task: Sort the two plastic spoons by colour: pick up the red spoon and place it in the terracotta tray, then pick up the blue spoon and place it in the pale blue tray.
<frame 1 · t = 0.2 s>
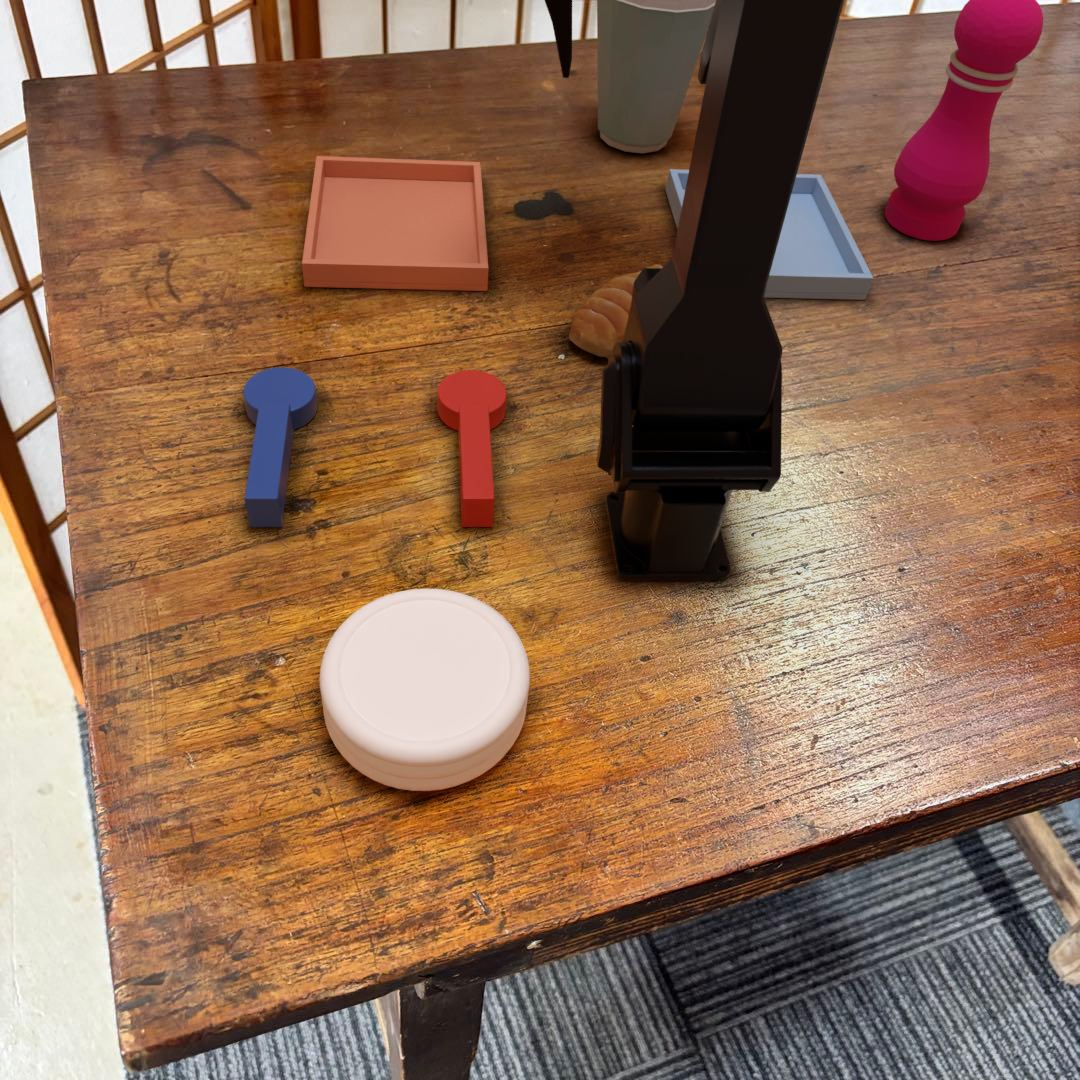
hand: (634, 78, 67), 14 cm above the table, tool pointing down, fingers open, 9 cm apart
pastry: (634, 332, 73), on the table
blue spoon: (272, 477, 60), on the table
blue tray: (760, 242, 82), on the table
red spoon: (474, 478, 62), on the table
pepper mill: (919, 223, 87), on the table
disposable coffee cup: (633, 138, 93), on the table
red tray: (398, 231, 79), on the table
white round tin: (426, 706, 51), on the table
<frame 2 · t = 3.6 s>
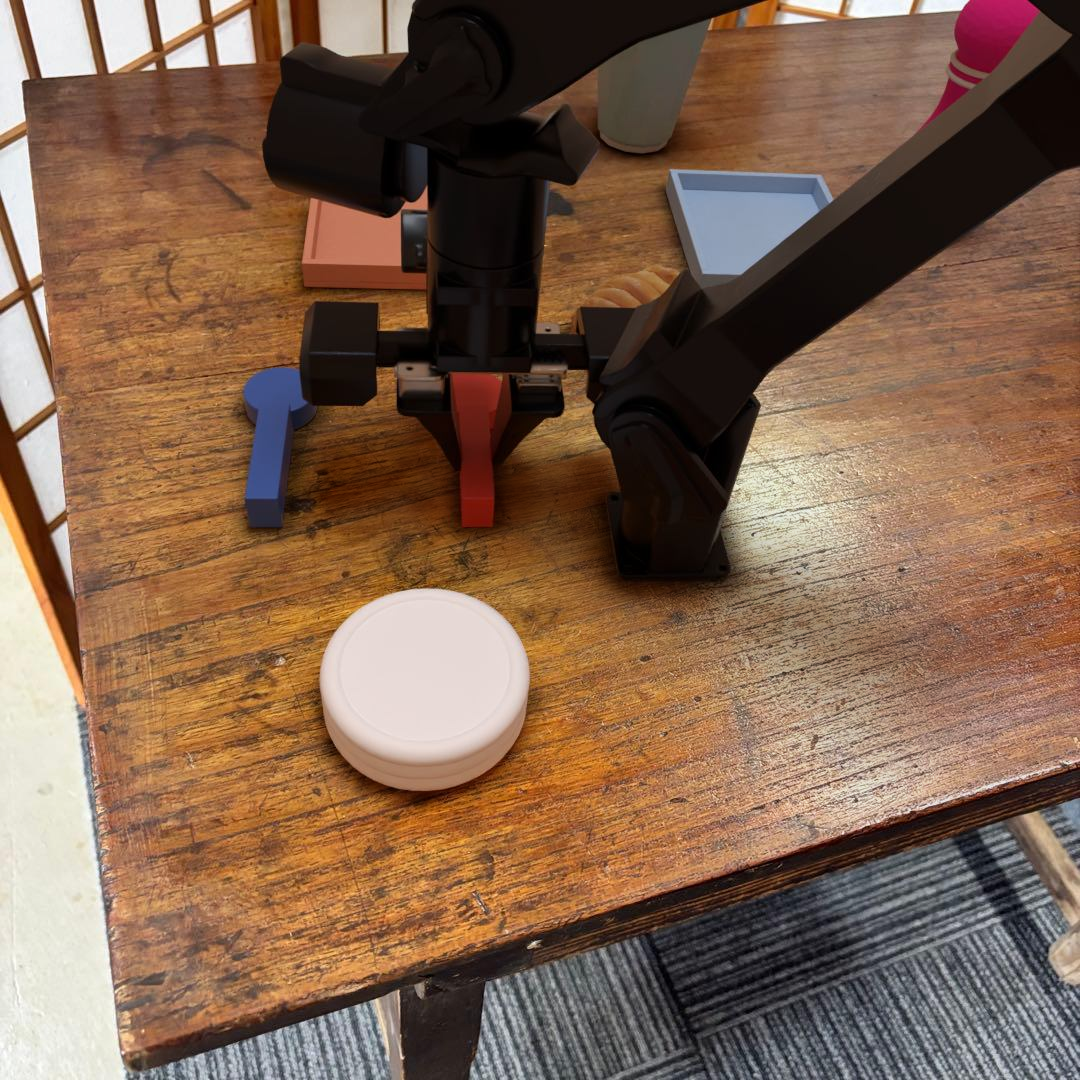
hand: (475, 466, 61), 1 cm above the table, tool pointing down, fingers closed on red spoon, 2 cm apart
red spoon: (474, 478, 62), on the table, touching gripper
everything else where it was.
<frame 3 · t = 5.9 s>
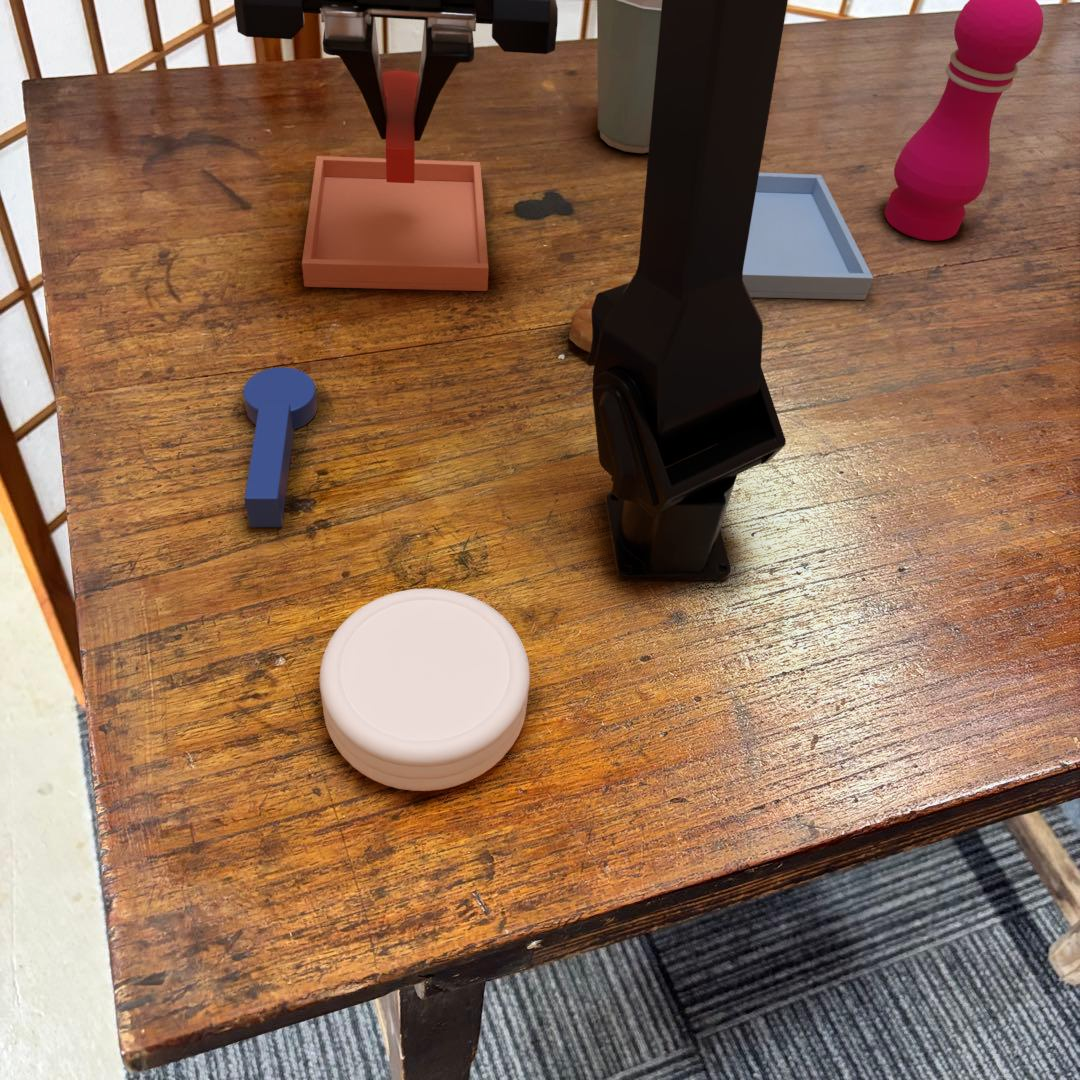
hand: (400, 137, 68), 11 cm above the table, tool pointing down, fingers closed on red spoon
red spoon: (400, 151, 68), point 10 cm above the table, touching gripper
everything else where it was.
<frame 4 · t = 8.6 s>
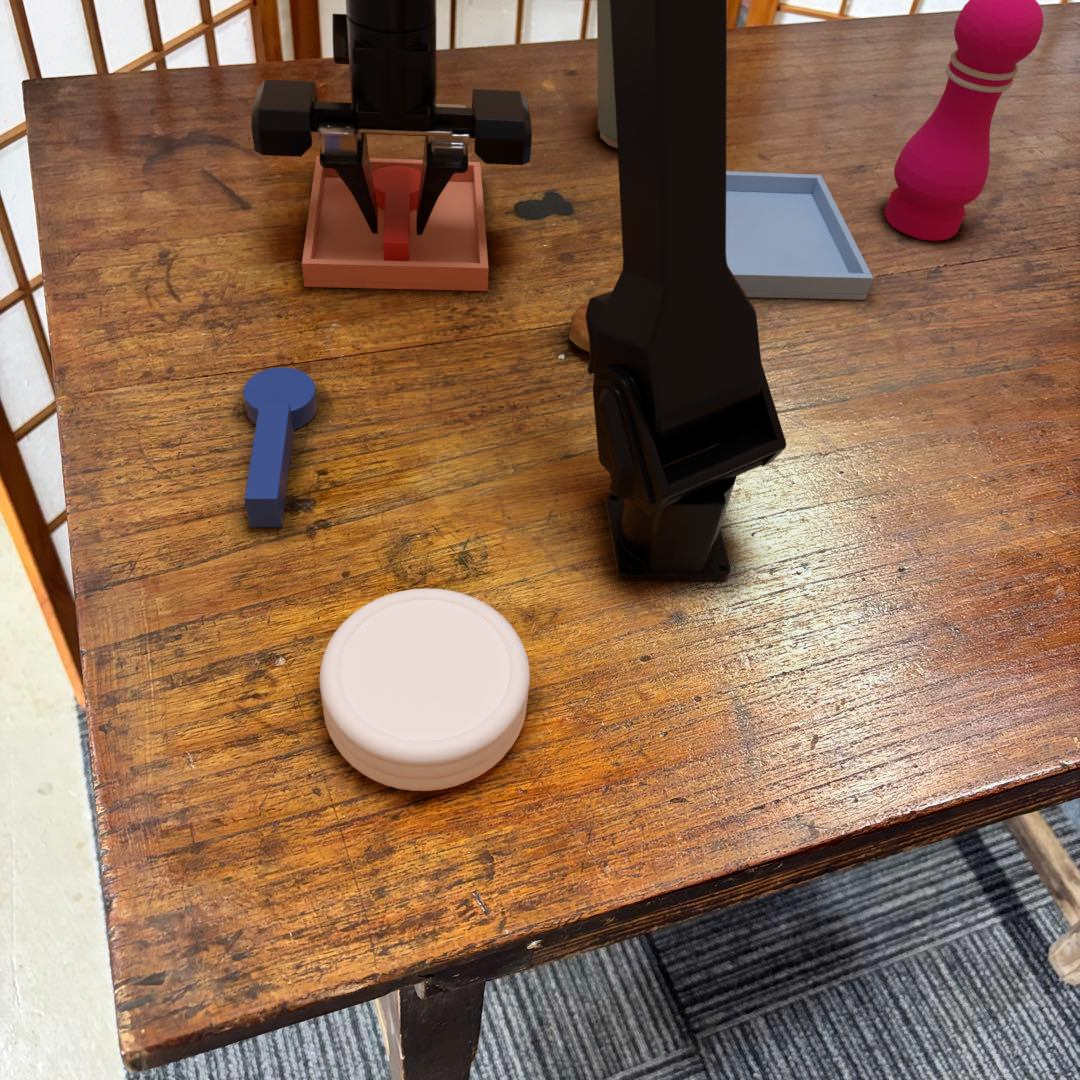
hand: (397, 231, 77), 1 cm above the table, tool pointing down, fingers open, 3 cm apart
red spoon: (397, 241, 77), resting on red tray
everything else where it was.
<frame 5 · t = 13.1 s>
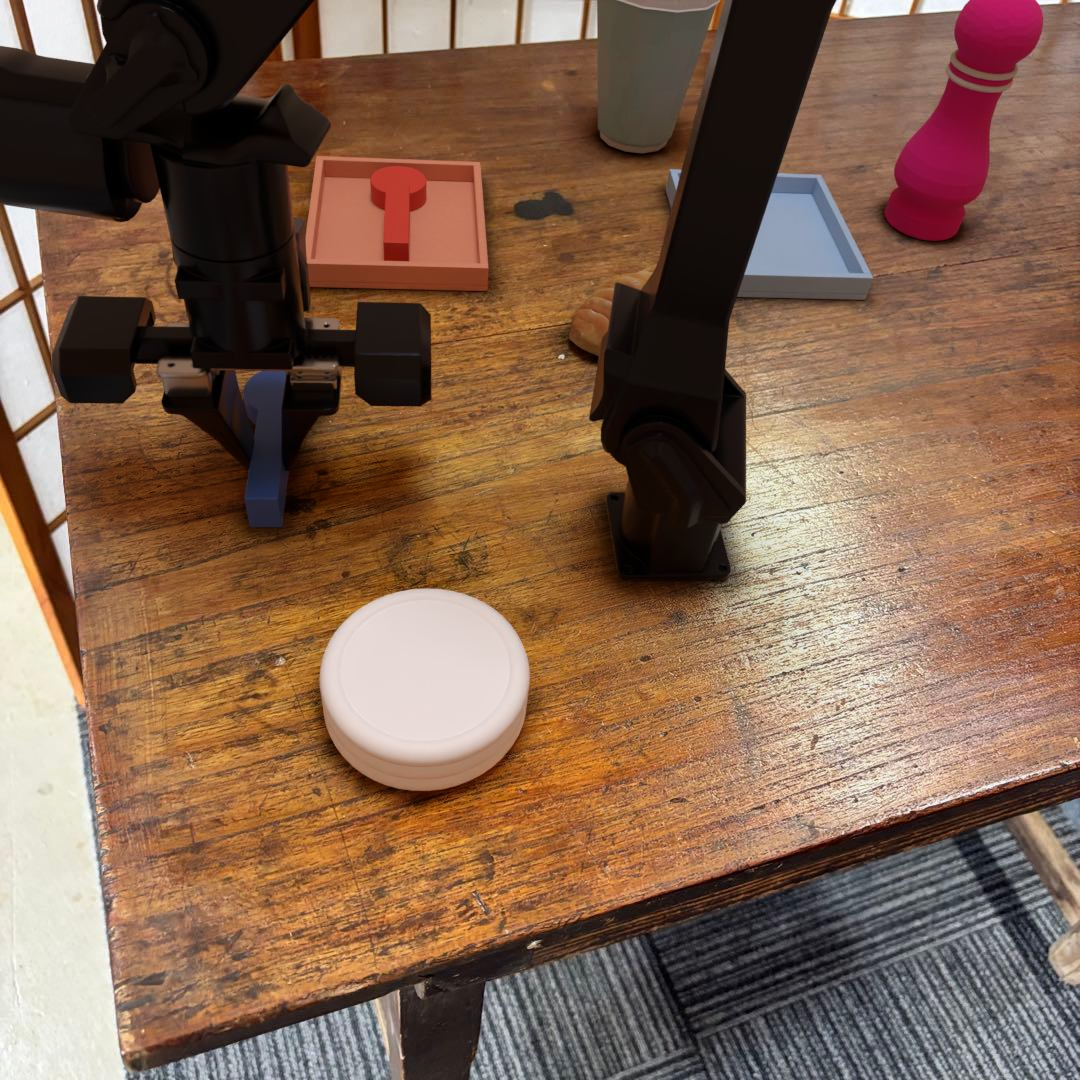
hand: (271, 465, 60), 1 cm above the table, tool pointing down, fingers closed on blue spoon, 2 cm apart
blue spoon: (272, 477, 60), on the table, touching gripper
everything else where it was.
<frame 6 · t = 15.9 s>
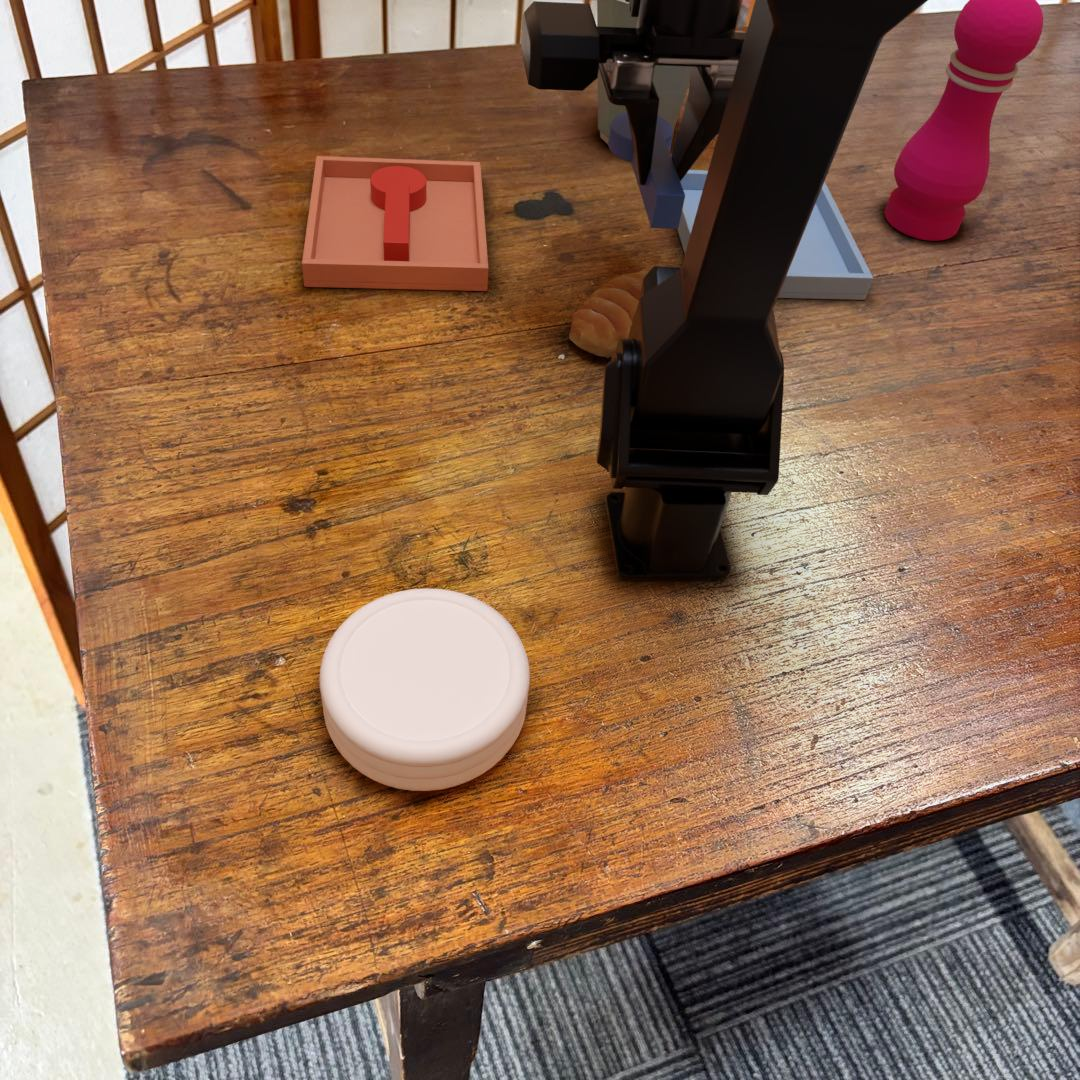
hand: (657, 182, 67), 10 cm above the table, tool pointing down, fingers closed on blue spoon
blue spoon: (654, 195, 68), point 9 cm above the table, touching gripper
everything else where it was.
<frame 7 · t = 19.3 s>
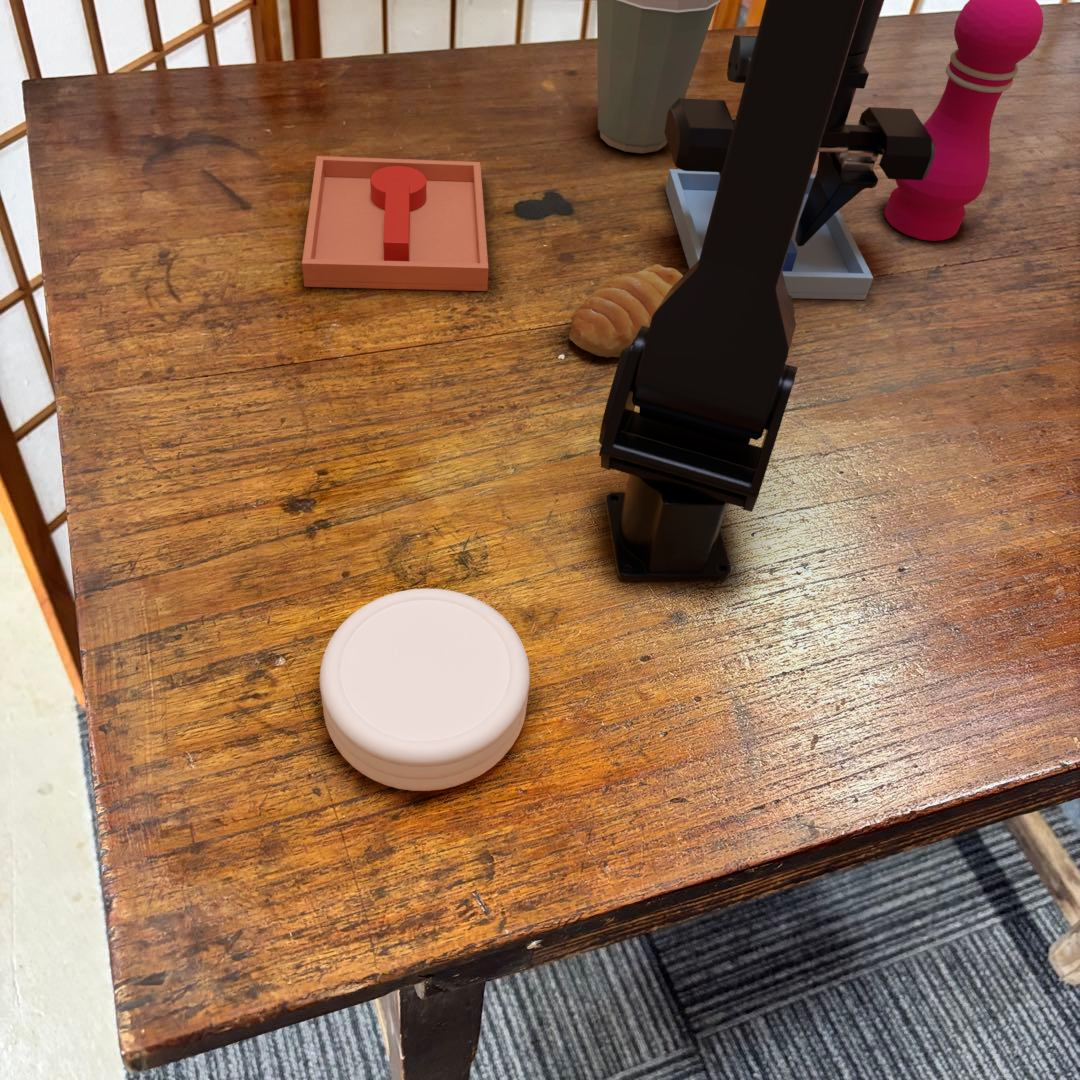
hand: (769, 242, 80), 1 cm above the table, tool pointing down, fingers open, 4 cm apart
blue spoon: (766, 250, 81), resting on blue tray
everything else where it was.
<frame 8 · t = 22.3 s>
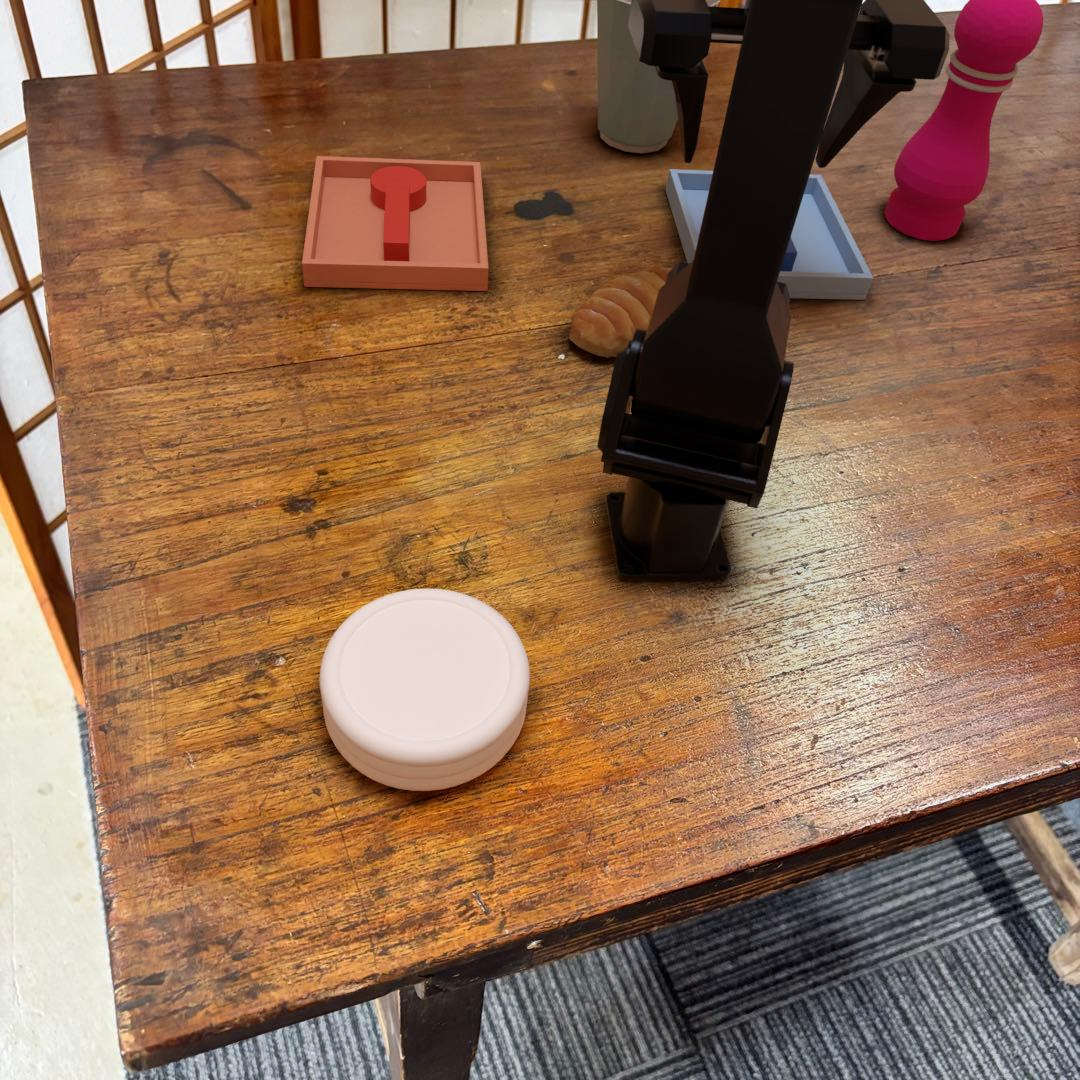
hand: (753, 162, 68), 11 cm above the table, tool pointing down, fingers open, 9 cm apart
nothing on the table moved.
at the end: red spoon inside the target area in the red tray (0.1 cm from its centre), point 0.5 cm above the red tray's base; blue spoon inside the target area in the blue tray (0.1 cm from its centre), point 0.5 cm above the blue tray's base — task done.
